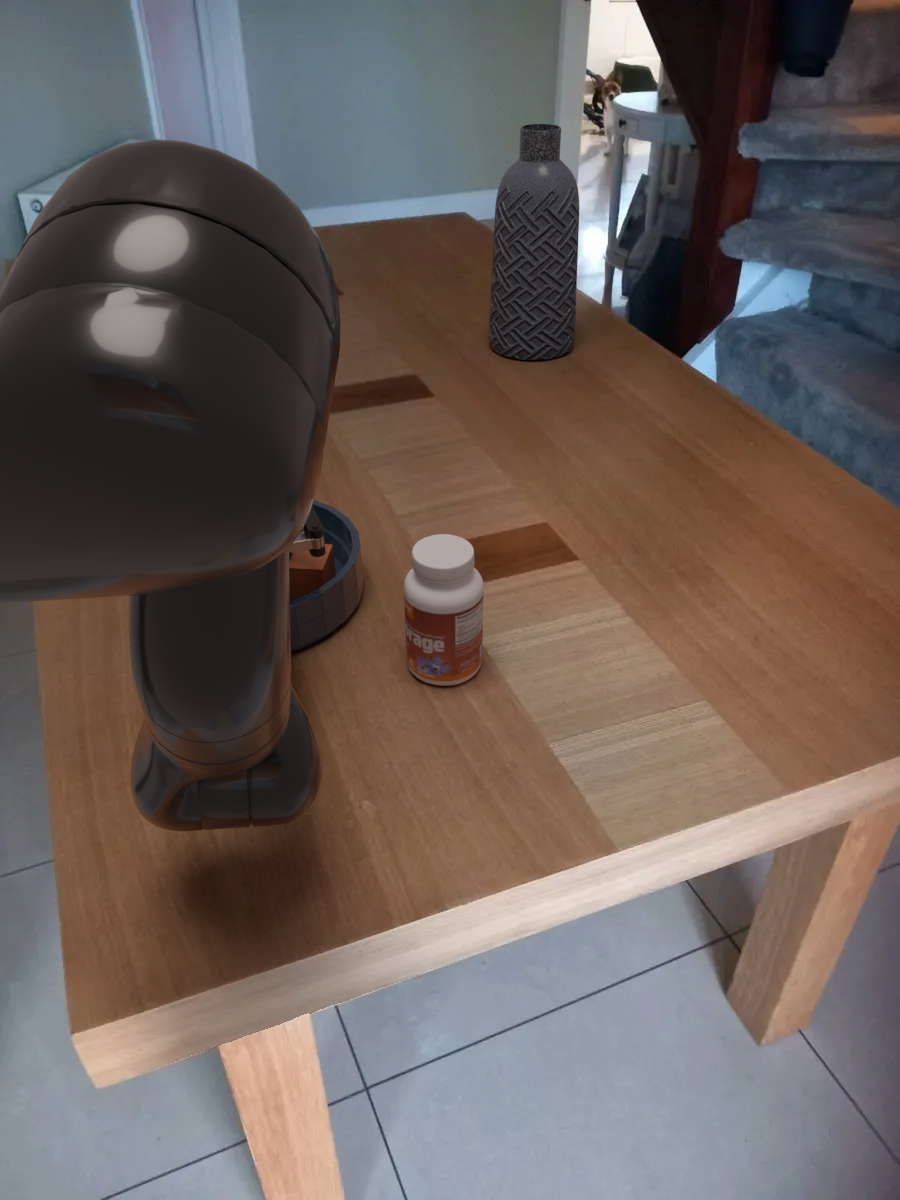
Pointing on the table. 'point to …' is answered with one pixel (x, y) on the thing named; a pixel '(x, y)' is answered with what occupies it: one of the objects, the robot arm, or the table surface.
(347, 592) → the bowl
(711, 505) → the table surface
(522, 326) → the vase
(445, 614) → the pill bottle
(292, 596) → the block
